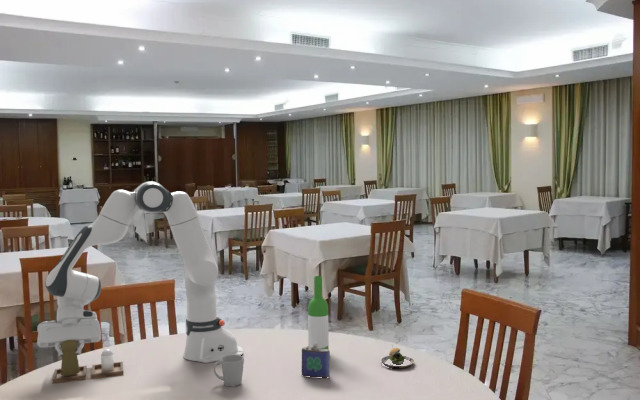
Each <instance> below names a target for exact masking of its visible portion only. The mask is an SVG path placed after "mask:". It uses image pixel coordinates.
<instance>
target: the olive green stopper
mask: <svg viewBox="0 0 640 400" xmlns="http://www.w3.org/2000/svg"><path fill="white" fill-rule="evenodd" d="M78 345H79V344H77V342H76V341H75V340H66V341H64V342H62V344H61V346H60V350H62V351H63V356H62V357H61V366H60V367H61V368H60V369H61V375H63V376H70V375H75V374H77V373H79V372H80V369H79V366H80V365H79V359H78V358H79V357H78V355H77V354H76V349H77V348H78V347H79V346H78Z"/></svg>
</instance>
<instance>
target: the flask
mask: <svg viewBox="0 0 640 400" xmlns="http://www.w3.org/2000/svg"><path fill="white" fill-rule="evenodd" d="M313 345H314V346H313V347H310V348H309V347H308V345H307V346H304V347H302V348H301V376H302V375H303V376H310V377H322V378H325V379H326V378H327V377H329V378H330V377H331V376H330V372H331V371H330V367H331V366H330V353H331V352H330V350H328V349H317V345H318V344H317V343H316V344H313ZM303 376H302V377H303Z"/></svg>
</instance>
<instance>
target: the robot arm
mask: <svg viewBox="0 0 640 400" xmlns="http://www.w3.org/2000/svg"><path fill="white" fill-rule="evenodd" d="M140 211H144V212H147V213H163V214H164V215H165V217H166V220H167V223H168V226H169V228H170V230H171V234H172V236H173V239H174V243H175V245H176V247H177V249H178V252H179V254H180V257H181V259H182V262H183V264H184V265H183V266H184V267H183V268H184V282H185V283H184V284H185V296H186V319H185V334H186V339H185V347H184V352H183V355H182V356H183V359H186V360H188V361H193V362H199V363H205V364H206V363H213V362H217V361H219V360H221V358H222V357H224V356H227V355H242V354H243V355H244V349H243V348H242V346H240V345H239V344H238V342H237V338H236V337H235V335H234V334H233V333H232V332H230V331H229V330H228V329H226V328H224V326H225V324H226V322H225V320H223V319H222V318H220V317H219V316H217V295H216V286H215V282H216V281H217V279H218V276H219V266H218V263H217V261H216V258H215V255H214V253H213V250H212V249H211V246H210V244H209V242H208V241H209V240H208V239H207V237H206V234H205V231H204V228H203V225H202V223H201V219H200V217H199V214H198V212H197V209H196V206H195V205H194V202H193V201H192V199H191V198H190V196H189V194H188V193H187V192H185V191H180V190H179V191H178V190H177V191H173V192H170V191H169V190H168V189H167V188H166V187H164V186H163V185H162V184H160V183H159V182H156V181H153V180H151V181H145V182H142V183H140V184H139V185H138V186H137V187H136V188H134V189H132V190H131V191H129V190H125V189H117V190H114V191H113V192H111V194H110V196H109V197H107V200H106V201H105V203H104V205H103V206H102V209H101V210H100V212H99V215H98V216H97V217H96V219H95V220H94V221H93V222H92V223H91V224H89V225H86V226H84V227H82V229H80V231H78V233H77V235H76V236H75V237H74V239H73V240H72V242H71V243H70V245H69V246H68V248H67V249H66V251H65V252H64V253H63V255H62V256H61V258H60V259H59V261H58V262H57V263H56V264H55V265H54V267H53V268H52V269H51V270H50V271H49V273H48V274H47V276H46V279H45V280H44V281H45V283H44V285H45V289H46V291H47V292H48V294H50V295H51V296H52V297H54V296H55V297H56V298H57V302H56V304H57V306H58V307H57V310H56V319H55V320H49V321H48V320H46V321H42V322H40V323H39V324H38V325H37V328H36V329H37V333H38V334H37V341H36V343H37V346H38V347H39V348H49V347H50V348H51V347H54V349H55V351H57V356H58V358H62V356H63V351H62V349H61V344H62V342H64V341H66V340H75V341H76V342H77V344H78V345H79V346H78V347H77V349H76V354H77V356H79V355H81V352H82V349H83V348H84V347H85V344H90V343H99V342H100V341H101V339H102V330H101V325H100V321H99V320H98V316H97V312H96V311H92V310H87V309H85V308H84V306H87V305H90V304H91V303H93V302H94V301H96V300H97V299H98V298H99V297H100V295H101V291H102V283H101V282H102V281H101V279H100V278H99V277H98V276H95V275H94V274H90V273H86V272H82V271H77V270H75V269H73V268H74V266H75V265H76V263H77V262H78V260H80V258H81V256H82V255H83V253H84V252H85V251H86V250H87V249H88V248H91V247H93V246H97V245H98V246H99V245H100V246H101V245H110V244H114V243H117V242H119V241H120V240H123V238H124V237H125V236H126V234H127V233H128V230H129V228H130V226H131V223H132V220H133V219H134V216H135V215H136V214H137V213H138V212H140ZM243 355H242V356H243Z"/></svg>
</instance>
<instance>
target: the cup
mask: <svg viewBox="0 0 640 400" xmlns="http://www.w3.org/2000/svg"><path fill="white" fill-rule="evenodd" d="M244 363H245V358H244V356H243V355H242V356H241V355H227V356H224V357H222V358H221V360H218V361H215V362H214V365H213V373H214V375H215V377H216V378H217V379H218V380H220V381H223V384H224V385H225V386H226V387H236V386H237V387H238V386H240V385H241V384H242V382H243V381H242V380H243V372H244ZM217 365H221V370H222V376H221V375H219V374H218V373H217V372H216V367H217ZM239 384H240V385H239Z"/></svg>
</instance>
